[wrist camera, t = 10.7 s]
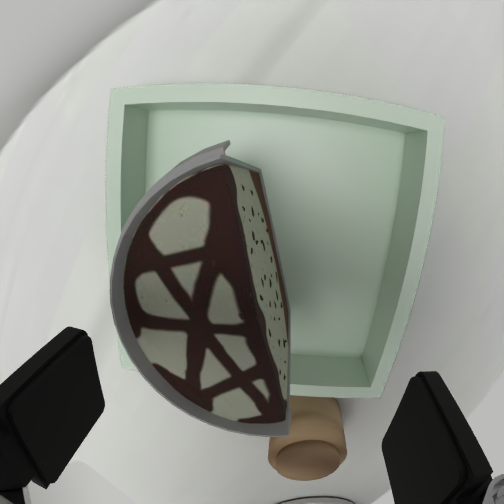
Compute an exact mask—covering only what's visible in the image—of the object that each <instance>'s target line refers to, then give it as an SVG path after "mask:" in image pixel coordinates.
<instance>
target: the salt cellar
mask: <svg viewBox="0 0 504 504" xmlns="http://www.w3.org/2000/svg"><path fill="white" fill-rule="evenodd" d="M290 410H292V416H291V426H290V429H289V436H287V437H270V441H269V454H268V460H269V463H270V465H271V466H272V467H273V468H274V469H276V470H277V471H278V473H279V474H281V475H282V476H284V477H286V478H289V479H293V480H300V481H308V480H316V479H320V478H323V477H326V476H328V475H330V474H331V473H333V472H334V471H335V470H336V469H337V468H338V467H339V465H340V464H341V463H342V462H343V461H344V460H345V458H346V455H347V449H346V442H345V435H344V429H343V423H342V417H341V411H340V406H339V403H338V402H337V400H336V399H335V398H333V397H312V396H297V395H290Z"/></svg>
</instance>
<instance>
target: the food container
mask: <svg viewBox="0 0 504 504" xmlns="http://www.w3.org/2000/svg"><path fill="white" fill-rule="evenodd" d="M229 146H230V140H227V141H224V142H222V143H219V144H216V145H213V146H210V147H208V148H205V149H203V150H201V151H199V152H197V153H196V154H194V155H192V156H190V157H188V158H187V159H185V160H183V161H181V162H180V163H179V164H178V165H176V166H175V167H174V168H173V169H172V170H170V171H169V172H168V173H167V174H165V175H164V176H163V177H162V178H161V179H160V180H158V181H157V182H156V183H155V184H154V185H153V186H152V187H151V188H150V189H149V190H148V192H147V193H146V194H145V195H144V196H143V198H142V199H141V200H140V201H139V202H138V204H137V205H136V206H135V208H134V209H133V211H132V213H131V215H130V216H129V218H128V220H127V222H126V223H125V225H124V227H123V229H122V232H121V235H120V238H119V241H118V244H117V247H116V250H115V254H114V257H113V262H112V269H111V275H110V303H111V309H112V314H113V319H114V324H115V326H116V329H117V332H118V335H119V338H120V340H121V343H122V345H123V347H124V349H125V351H126V352H127V354H128V356H129V358H130V360H131V361H132V363H133V364H134V366H135V367H136V368H137V370H138V371H139V372H140V374H141V375H142V377H143V378H144V379H145V380H146V381H147V382H148V383H149V384H150V385H151V386H152V387H153V388H154V389H155V390H156V391H157V392H158V393H159V394H160V395H161V396H163V397H164V398H165V399H166V400H167V401H169V402H170V403H171V404H173V405H174V406H175V407H177V408H179V409H180V410H182V411H183V412H185V413H187V414H188V415H190V416H192V417H194V418H196V419H198V420H200V421H202V422H205V423H207V424H209V425H212V426H215V427H218V428H221V429H224V430H227V431H231V432H235V433H240V434H245V435H252V436H263V437H287V436H289V429H290V426H291V416H292V410H290V364H291V310H290V305H289V300H288V295H287V290H286V285H285V280H284V275H283V270H282V265H281V260H280V255H279V250H278V246H277V241H276V236H275V231H274V227H273V222H272V217H271V213H270V208H269V203H268V199H267V194H266V190H265V185H264V181H263V176H262V172H261V169H259V168H257V167H255V166H252V165H250V164H247V163H245V162H242V161H240V160H237V159H234V158H232V157H229V156H227V155H226V154H225V151H226V149H227V148H228V147H229Z"/></svg>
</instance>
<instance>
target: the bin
mask: <svg viewBox="0 0 504 504" xmlns="http://www.w3.org/2000/svg"><path fill="white" fill-rule="evenodd" d="M444 118H445V117H442V116H439V115H436V114H432V113H428V112H425V111H421V110H417V109H413V108H409V107H405V106H401V105H396V104H392V103H387V102H383V101H378V100H373V99H368V98H362V97H357V96H351V95H345V94H339V93H332V92H325V91H317V90H309V89H301V88H291V87H280V86H267V85H251V84H222V83H191V84H162V85H146V86H134V87H123V88H113V89H111V93H110V103H109V114H108V128H107V147H106V231H107V250H108V264H109V276H110V275H111V269H112V262H113V257H114V254H115V250H116V247H117V244H118V241H119V238H120V235H121V232H122V229H123V227H124V225H125V223H126V222H127V220H128V218H129V216H130V215H131V213H132V211H133V209H134V208H135V206H136V205H137V204H138V202H139V201H140V200H141V199H142V198H143V196H144V195H145V194H146V193H147V192H148V190H149V189H150V188H151V187H152V186H153V185H154V184H155V183H156V182H157V181H158V180H160V179H161V178H162V177H163V176H164V175H165V174H167V173H168V172H169V171H170V170H172V169H173V168H174V167H175V166H176V165H178V164H179V163H180V162H181V161H183V160H185V159H187V158H188V157H190V156H192V155H194V154H196V153H197V152H199V151H201V150H203V149H205V148H208V147H210V146H213V145H216V144H219V143H222V142H224V141H227V140H230V146H229V147H228V148H227V149H226V151H225V154H226V155H227V156H229V157H232V158H234V159H237V160H240V161H242V162H245V163H247V164H250V165H252V166H255V167H257V168H259V169H261V172H262V176H263V181H264V185H265V190H266V194H267V199H268V203H269V208H270V213H271V217H272V222H273V227H274V231H275V236H276V241H277V246H278V250H279V255H280V260H281V265H282V270H283V275H284V280H285V285H286V290H287V295H288V300H289V305H290V310H291V364H290V395H297V396H312V397H333V398H380V396H381V394H382V392H383V389H384V387H385V384H386V382H387V379H388V376H389V374H390V371H391V369H392V366H393V363H394V361H395V358H396V355H397V352H398V349H399V346H400V344H401V341H402V338H403V335H404V331H405V328H406V325H407V322H408V319H409V316H410V312H411V309H412V305H413V302H414V298H415V295H416V291H417V287H418V284H419V280H420V276H421V272H422V268H423V264H424V259H425V255H426V250H427V246H428V241H429V236H430V231H431V226H432V221H433V215H434V209H435V203H436V197H437V190H438V183H439V175H440V167H441V157H442V147H443V134H444ZM115 328H116V326H115ZM116 335H117V342H118V348H119V354H120V360H121V365H122V368H126V369H130V370H134V371H138V370H137V368H136V367H135V366H134V364H133V363H132V361H131V360H130V358H129V356H128V354H127V352H126V351H125V349H124V347H123V345H122V343H121V340H120V338H119V335H118V332H117V329H116ZM138 372H139V371H138Z"/></svg>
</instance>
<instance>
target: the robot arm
mask: <svg viewBox="0 0 504 504" xmlns="http://www.w3.org/2000/svg"><path fill="white" fill-rule="evenodd" d="M104 407H105V401H104V397H103V393H102V389H101V385H100V380H99V376H98V371H97V366H96V361H95V356H94V351H93V345H92V340H91V338H90V337H89V336H88V334H87V333H86V331H84V330H81V329H77V328H73V327H67V328H65V329H64V330H63V331H61V332H60V333H59V334H58V335H57V336H55V337H54V338H53V339H52V340H51V341H50V342H48V343H47V344H46V345H45V346H44V347H42V348H41V349H40V350H39V351H38V352H37V353H35V354H34V355H33V356H32V357H31V358H30V359H29V360H27V361H26V362H25V363H24V364H23V365H22V366H21V367H19V368H18V369H17V370H16V371H15V372H14V373H13V374H12V375H10V376H9V377H8V378H7V379H6V380H5V381H4V382H3V383H2V384H0V504H31V499H30V494H29V489H28V483H29V482H30V481H31V480H32V481H33V482H34V483H36V484H38V485H39V486H41V487H43V488H45V489H47V488H48V486H49V484H50V483H55V482H56V481H57V479H58V478H59V476H60V475H61V473H62V472H63V470H64V469H65V467H66V466H67V464H68V463H69V461H70V460H71V458H72V457H73V455H74V454H75V452H76V451H77V449H78V448H79V446H80V445H81V443H82V442H83V440H84V439H85V437H86V436H87V435H88V433H89V432H90V430H91V429H92V427H93V426H94V424H95V423H96V421H97V420H98V418H99V417H100V416H101V414H102V413H103V411H104ZM382 452H383V456H384V460H385V464H386V468H387V472H388V476H389V480H390V485H391V489H392V493H393V498H394V502H395V504H504V474H502V475H500V476H497V477H495V478H494V479H492V477H491V474H492V472H493V470H492V468H491V466H490V464H489V462H488V460H487V458H486V456H485V454H484V452H483V450H482V448H481V446H480V445H479V443H478V441H477V439H476V437H475V435H474V434H473V431H472V430H471V428H470V426H469V424H468V422H467V421H466V419H465V417H464V415H463V413H462V412H461V410H460V408H459V406H458V405H457V403H456V401H455V400H454V398H453V396H452V395H451V393H450V391H449V389H448V388H447V386H446V385H445V383H444V381H443V380H442V378H441V376H440V375H439V373H438V372H436V371H431V372H418V373H417V374H416V376H415V377H412V378H411V379H410V381H409V383H408V386H407V388H406V391H405V393H404V395H403V398H402V400H401V402H400V404H399V407H398V409H397V411H396V413H395V415H394V418H393V420H392V422H391V424H390V426H389V428H388V430H387V432H386V434H385V436H384V438H383V441H382ZM281 504H353V503H351V502H350V501H347V500H344V499H338V498H327V497H318V498H305V499H297V500H292V501H288V502H284V503H281Z"/></svg>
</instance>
